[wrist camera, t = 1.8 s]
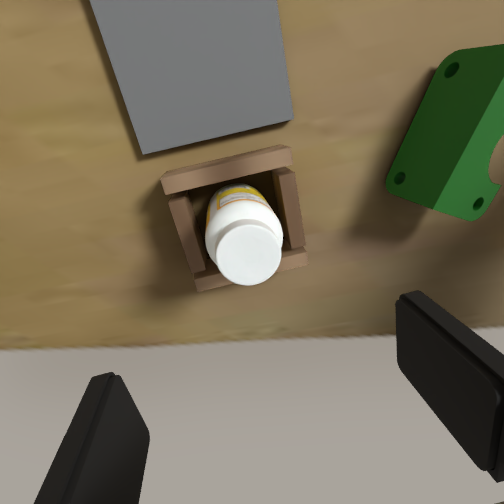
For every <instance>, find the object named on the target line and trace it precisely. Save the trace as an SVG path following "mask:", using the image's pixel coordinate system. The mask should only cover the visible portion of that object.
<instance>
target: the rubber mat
mask: <svg viewBox="0 0 504 504" xmlns="http://www.w3.org/2000/svg"><path fill="white" fill-rule="evenodd" d="M90 3H91V6H92V9H93V11H94V14H95V17H96V20H97V23H98V26H99V29H100V32H101V35H102V38H103V40H104V43H105V46H106V49H107V52H108V55H109V58H110V61H111V64H112V67H113V70H114V72H115V75H116V78H117V81H118V84H119V87H120V90H121V93H122V96H123V99H124V101H125V104H126V107H127V110H128V113H129V116H130V119H131V122H132V125H133V128H134V130H135V133H136V136H137V139H138V142H139V145H140V148H141V151H142V154H148V153H152V152H156V151H160V150H165V149H169V148H173V147H177V146H182V145H186V144H190V143H194V142H199V141H203V140H207V139H211V138H216V137H220V136H224V135H228V134H232V133H237V132H241V131H245V130H249V129H254V128H258V127H262V126H266V125H271V124H275V123H279V122H283V121H288V120H292V119H294V115H293V109H292V102H291V95H290V88H289V81H288V74H287V67H286V60H285V53H284V47H283V40H282V33H281V26H280V19H279V12H278V5H277V0H90Z"/></svg>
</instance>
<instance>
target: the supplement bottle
mask: <svg viewBox="0 0 504 504" xmlns="http://www.w3.org/2000/svg"><path fill="white" fill-rule="evenodd" d="M205 242H206V248H207V251H208V253H209V255H210V257H211V259H212V260H213V261H214V263H215V264H216V265H217V266H218V269H219V270H220V272H221V273H222V274H223V276H224V277H226V278H227V279H228V280H230V281H231V282H234V283H236V284H240V285H255V284H259V283H261V282H264V281H265V280H267V279H268V278H270V277H271V276H272V275H273V274H274V273H275V271H276V270H277V268H278V266H279V264H280V261H281V247H282V243H283V232H282V227H281V224H280V222H279V220H278V218H277V216H276V215H275V213H274V212H273V210H272V209H271V207H270V206H269V204H268V203H267V201H266V200H265V198H264V197H263V195H262V194H261V193H260V192H259V191H258V190H257V189H255V188H254V187H252V186H249V185H246V184H242V183H235V184H229V185H226V186H224V187H222V188H221V189H219V190H218V191H217V192H216V193H215V194H214V195H213V197H212V198H211V200H210V202H209V205H208V210H207V222H206V233H205Z"/></svg>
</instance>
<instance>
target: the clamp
mask: <svg viewBox="0 0 504 504" xmlns="http://www.w3.org/2000/svg"><path fill="white" fill-rule="evenodd" d="M503 134H504V44H500V45H493V46H485V47H477V48H470V49H462V50H458V51H455V52H453V53H452V54H450V55H449V56H447V57H446V58H445V59H444V60H443V61H442V63H441V64H440V65H439V67H438V68H437V70H436V72H435V74H434V76H433V79H432V81H431V83H430V85H429V87H428V89H427V91H426V94H425V96H424V98H423V100H422V102H421V104H420V106H419V109H418V111H417V113H416V115H415V117H414V119H413V121H412V124H411V126H410V128H409V130H408V132H407V134H406V136H405V139H404V141H403V143H402V145H401V147H400V149H399V152H398V154H397V156H396V158H395V160H394V162H393V164H392V167H391V169H390V171H389V173H388V175H387V178H386V188H387V190H388V192H389V193H391V194H393V195H396V196H399V197H401V198H404V199H407V200H409V201H412V202H415V203H417V204H420V205H423V206H425V207H428V208H431V209H433V210H437V211H440V212H443V213H446V214H449V215H452V216H455V217H458V218H461V219H464V220H467V221H474V220H476V219H478V218H479V217H481V216H482V215H483V214H484V213H485V211H486V210H487V208H488V207H489V205H490V203H491V202H492V200H493V198H494V197H495V195H496V193H497V192H498V190H499V188H500V187H501V185H499V184H494V183H492V182H491V180H490V178H489V174H488V166H489V161H490V158H491V155H492V152H493V150H494V148H495V146H496V144H497V143H498V141H499V139H500V138H501V137H502V135H503Z"/></svg>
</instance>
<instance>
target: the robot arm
mask: <svg viewBox="0 0 504 504" xmlns="http://www.w3.org/2000/svg"><path fill="white" fill-rule="evenodd" d="M395 305H396V339H397V362H398V365H399V368H400V370H401V371H402V373H403V374H404V375H405V376H406V378H407V379H408V380H409V381H410V383H411V384H412V385H413V386H414V388H415V389H416V390H417V391H418V393H419V394H420V395H421V396H422V398H423V399H424V400H425V401H426V403H427V404H428V405H429V407H430V408H431V409H432V410H433V411H434V413H435V414H436V415H437V417H438V418H439V419H440V420H441V422H442V423H443V424H444V425H445V427H446V428H447V429H448V430H449V432H450V433H451V434H452V435H453V437H454V438H455V439H456V440H457V442H458V443H459V444H460V446H461V447H462V448H463V449H464V451H465V452H466V453H467V454H468V456H469V457H470V458H471V459H472V460H473V462H474V463H475V464H476V465H477V467H479V468H480V469H481V470H483V471H486V470H487V471H488V473H489V474H490V475H491V476H492V478H493V479H494V480H495V481H496V482H497V483H498V482H501V481H504V355H503V354H502V353H501V352H499V351H498V350H496V349H495V348H494V347H493V346H492V345H490V344H489V343H488V342H486V341H485V340H484V339H482V338H481V337H480V336H478V335H477V334H476V333H475V332H473V331H472V330H471V329H469V328H468V327H467V326H465V325H464V324H463V323H461V322H460V321H459V320H458V319H456V318H455V317H454V316H452V315H451V314H450V313H448V312H447V311H446V310H445V309H443V308H442V307H441V306H439V305H438V304H437V303H435V302H434V301H433V300H432V299H430V298H429V297H428V296H426V295H425V294H424V293H422V292H421V291H419V290H416V291H413V292H409V293H405V294H402V295H400V297H399V300H397V301H396V304H395ZM149 441H150V436H149V430H148V428H147V426H146V424H145V422H144V420H143V418H142V416H141V415H140V413H139V411H138V409H137V407H136V405H135V403H134V401H133V399H132V397H131V395H130V393H129V391H128V389H127V387H126V386H125V384H124V382H123V380H122V378H121V376H119V375H115V374H114V373H113V372H109V373H105V374H102V375H98V376H94V377H92V378H91V380H90V382H89V384H88V387H87V389H86V391H85V393H84V395H83V397H82V400H81V402H80V404H79V406H78V408H77V411H76V413H75V415H74V417H73V419H72V422H71V424H70V426H69V428H68V430H67V433H66V435H65V436H64V438H63V441H62V443H61V445H60V447H59V449H58V451H57V454H56V456H55V458H54V460H53V462H52V465H51V467H50V469H49V471H48V474H47V476H46V478H45V480H44V482H43V485H42V487H41V489H40V491H39V493H38V495H37V498H36V500H35V502H34V504H139V498H140V492H141V487H142V481H143V475H144V470H145V464H146V459H147V453H148V447H149ZM496 504H504V502H500V503H496Z"/></svg>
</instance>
